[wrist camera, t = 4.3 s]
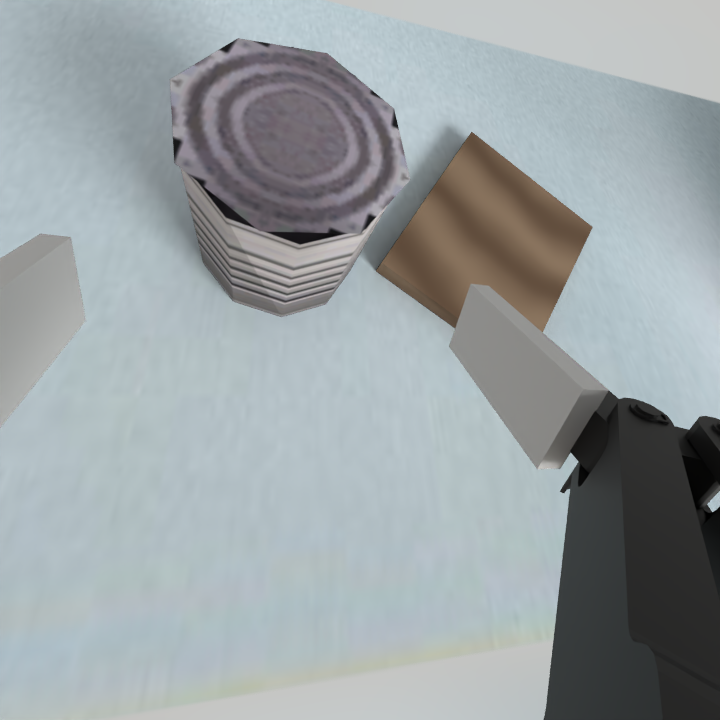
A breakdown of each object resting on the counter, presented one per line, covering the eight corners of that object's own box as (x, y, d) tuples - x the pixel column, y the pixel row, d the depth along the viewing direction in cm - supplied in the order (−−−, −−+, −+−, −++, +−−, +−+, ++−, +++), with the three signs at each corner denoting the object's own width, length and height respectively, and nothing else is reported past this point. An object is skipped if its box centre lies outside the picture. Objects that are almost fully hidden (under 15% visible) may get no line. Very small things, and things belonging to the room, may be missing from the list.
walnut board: (463, 144, 37) (471, 131, 36) (579, 235, 39) (592, 227, 37) (375, 270, 32) (381, 262, 31) (514, 370, 33) (525, 367, 32)
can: (163, 254, 28) (105, 121, 17) (260, 150, 32) (267, -16, 20) (300, 348, 29) (333, 284, 18) (379, 238, 33) (448, 126, 21)
